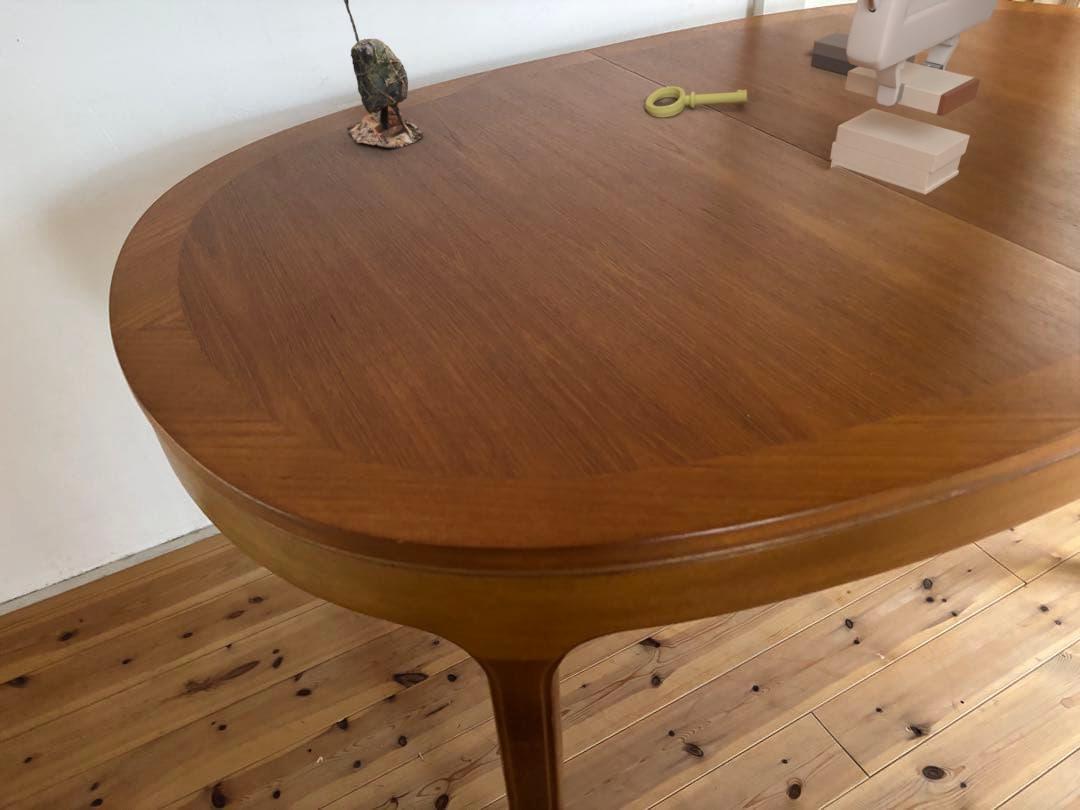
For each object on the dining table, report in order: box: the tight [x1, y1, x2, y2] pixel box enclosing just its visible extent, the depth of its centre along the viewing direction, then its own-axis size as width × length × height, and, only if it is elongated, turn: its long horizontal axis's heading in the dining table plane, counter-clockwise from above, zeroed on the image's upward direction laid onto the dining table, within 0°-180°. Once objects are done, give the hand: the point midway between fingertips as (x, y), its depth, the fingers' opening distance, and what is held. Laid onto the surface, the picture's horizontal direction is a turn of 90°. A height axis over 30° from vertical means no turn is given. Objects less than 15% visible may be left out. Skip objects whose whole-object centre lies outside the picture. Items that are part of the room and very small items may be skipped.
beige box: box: [829, 108, 971, 195], centre depth 88 cm, size 11×6×5 cm, turn 42°
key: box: [644, 85, 748, 118], centre depth 108 cm, size 7×12×2 cm, turn 95°
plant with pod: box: [343, 0, 424, 149], centre depth 98 cm, size 8×11×20 cm
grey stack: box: [810, 31, 916, 76], centre depth 114 cm, size 12×5×3 cm, turn 42°
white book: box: [844, 61, 981, 117], centre depth 84 cm, size 10×6×2 cm, turn 42°
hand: (909, 92), depth 84 cm, fingers closed on white book, 6 cm apart
